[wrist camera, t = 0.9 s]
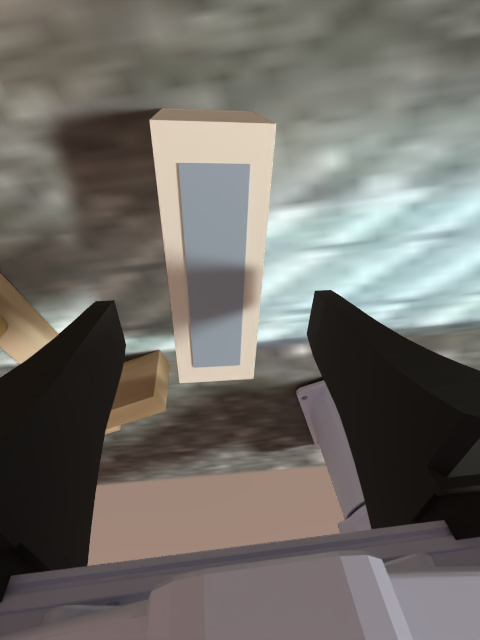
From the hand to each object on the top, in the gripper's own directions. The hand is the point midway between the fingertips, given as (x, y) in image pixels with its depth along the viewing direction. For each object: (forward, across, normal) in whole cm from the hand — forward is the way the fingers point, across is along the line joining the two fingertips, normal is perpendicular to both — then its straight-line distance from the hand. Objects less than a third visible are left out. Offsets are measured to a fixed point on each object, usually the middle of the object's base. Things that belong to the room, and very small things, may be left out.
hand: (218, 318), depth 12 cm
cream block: (+7, 0, 0) cm, 7 cm away
